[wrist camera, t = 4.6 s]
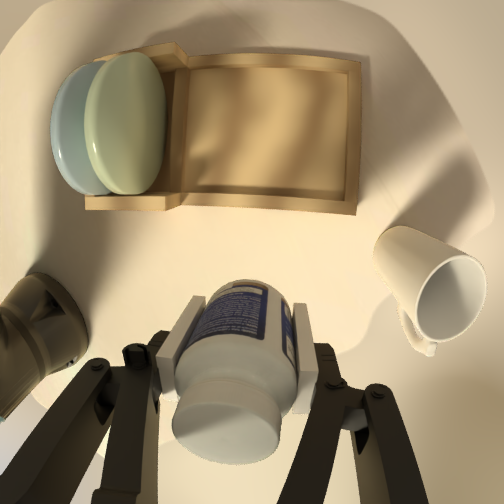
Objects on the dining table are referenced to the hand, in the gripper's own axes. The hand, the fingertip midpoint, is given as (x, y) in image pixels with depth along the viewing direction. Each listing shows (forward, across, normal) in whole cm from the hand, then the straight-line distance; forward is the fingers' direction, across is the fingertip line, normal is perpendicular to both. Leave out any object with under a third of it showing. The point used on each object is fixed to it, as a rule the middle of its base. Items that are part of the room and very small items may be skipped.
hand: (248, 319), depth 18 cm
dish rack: (+13, -4, +13) cm, 19 cm away
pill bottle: (+1, 0, 0) cm, 1 cm away
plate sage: (+13, -10, +13) cm, 21 cm away
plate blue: (+13, -14, +13) cm, 23 cm away
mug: (+13, +15, 0) cm, 19 cm away
